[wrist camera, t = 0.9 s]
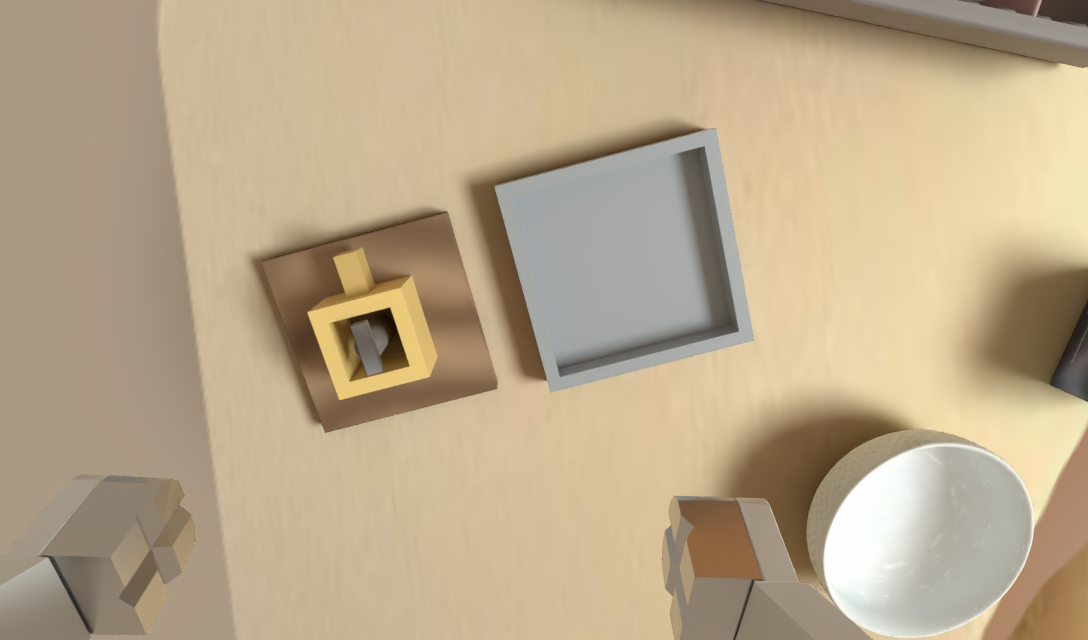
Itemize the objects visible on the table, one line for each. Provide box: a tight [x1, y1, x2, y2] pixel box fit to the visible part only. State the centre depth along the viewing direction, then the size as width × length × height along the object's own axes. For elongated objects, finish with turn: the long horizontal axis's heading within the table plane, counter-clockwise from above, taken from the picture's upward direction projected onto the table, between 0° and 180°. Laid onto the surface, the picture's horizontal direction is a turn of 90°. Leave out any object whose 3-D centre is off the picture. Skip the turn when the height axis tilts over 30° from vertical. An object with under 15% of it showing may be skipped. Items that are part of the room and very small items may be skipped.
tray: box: [495, 128, 754, 392], centre depth 49 cm, size 16×16×2 cm
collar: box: [307, 247, 437, 400], centre depth 47 cm, size 10×7×4 cm
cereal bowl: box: [806, 429, 1034, 638], centre depth 53 cm, size 17×17×7 cm
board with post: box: [261, 212, 498, 433], centre depth 47 cm, size 14×14×7 cm
